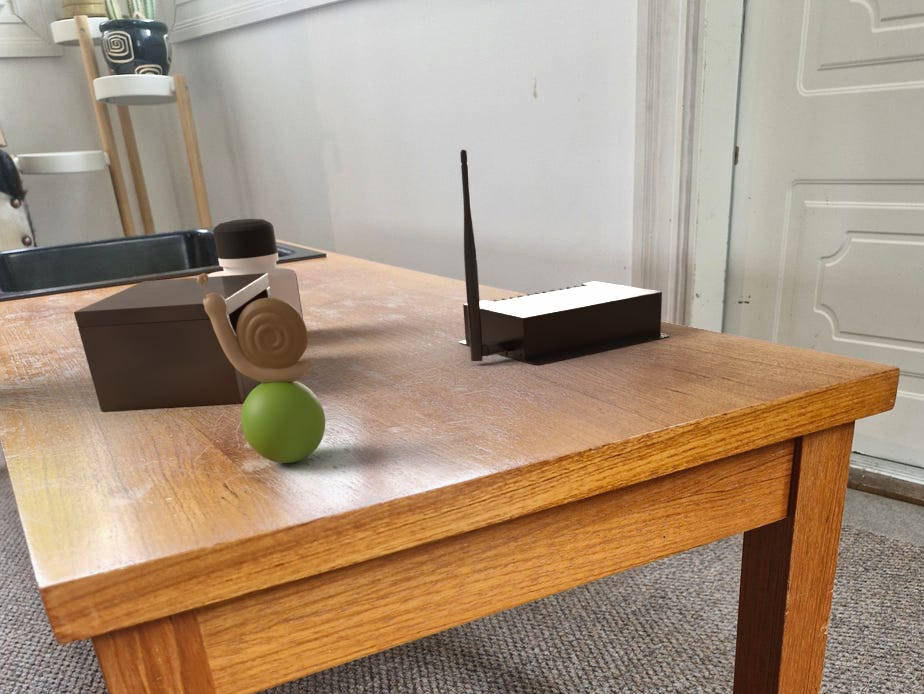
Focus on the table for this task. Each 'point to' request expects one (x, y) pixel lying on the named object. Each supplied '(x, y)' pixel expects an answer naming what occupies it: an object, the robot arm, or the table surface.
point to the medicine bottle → (255, 256)
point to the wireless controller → (553, 314)
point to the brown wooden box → (166, 343)
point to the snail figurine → (271, 375)
